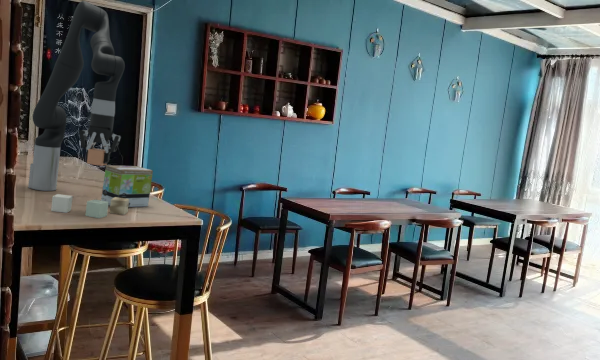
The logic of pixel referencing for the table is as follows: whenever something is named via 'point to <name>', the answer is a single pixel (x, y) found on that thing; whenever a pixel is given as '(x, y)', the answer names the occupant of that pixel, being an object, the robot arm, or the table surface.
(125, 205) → the maple cube
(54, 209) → the cream cube
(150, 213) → the table surface
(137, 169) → the tea box
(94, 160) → the terracotta cube
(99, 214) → the sage cube
